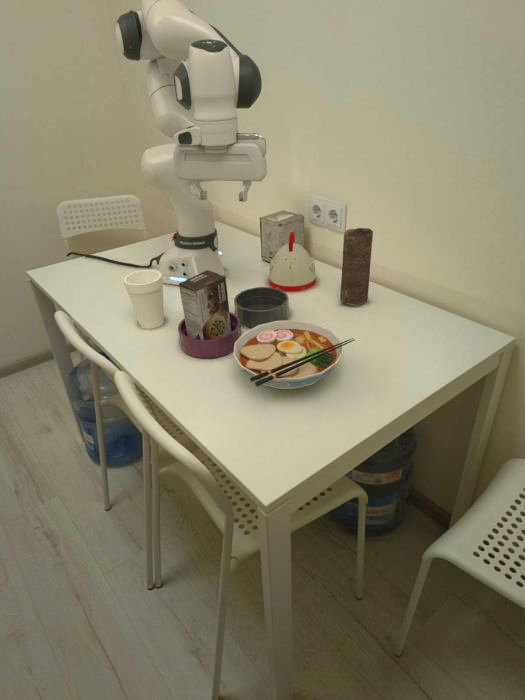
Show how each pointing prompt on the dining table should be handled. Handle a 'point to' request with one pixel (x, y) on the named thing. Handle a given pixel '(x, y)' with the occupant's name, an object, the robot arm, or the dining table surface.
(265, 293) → the grey bowl
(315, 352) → the ramen bowl
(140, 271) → the foam cup
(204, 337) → the printed food box
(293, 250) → the white chicken egg cooker
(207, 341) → the plum bowl
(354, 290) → the brown tall cylinder
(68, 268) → the dining table surface
